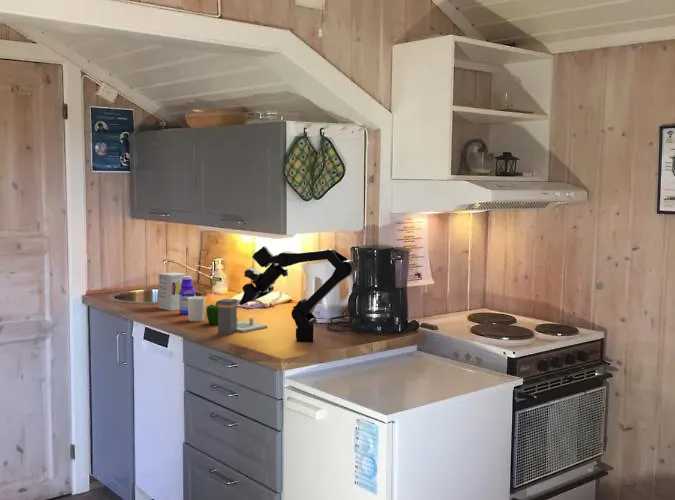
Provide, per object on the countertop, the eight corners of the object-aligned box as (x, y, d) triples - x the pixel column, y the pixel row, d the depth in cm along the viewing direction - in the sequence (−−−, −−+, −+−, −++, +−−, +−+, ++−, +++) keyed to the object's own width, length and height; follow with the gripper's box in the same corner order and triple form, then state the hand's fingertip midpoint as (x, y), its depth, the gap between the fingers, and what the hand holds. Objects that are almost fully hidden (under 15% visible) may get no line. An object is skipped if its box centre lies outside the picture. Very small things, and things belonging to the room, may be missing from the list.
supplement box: (170, 311, 347) (170, 275, 345) (158, 308, 353) (157, 273, 351) (186, 308, 354) (186, 273, 353) (174, 306, 360) (173, 271, 358)
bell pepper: (208, 326, 314) (208, 302, 313) (204, 322, 322) (204, 299, 321) (228, 324, 317) (228, 301, 316) (223, 321, 325) (223, 298, 324)
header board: (267, 327, 313) (267, 319, 312) (243, 332, 302) (243, 324, 301) (243, 323, 321) (243, 315, 321) (219, 327, 310) (219, 319, 310)
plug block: (236, 332, 303) (236, 299, 301) (230, 335, 297) (230, 301, 296) (224, 331, 304) (224, 298, 303) (217, 333, 299) (218, 300, 298)
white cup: (197, 322, 321) (197, 299, 320) (183, 320, 325) (183, 298, 324) (209, 319, 328) (209, 297, 327) (195, 317, 332) (195, 295, 331)
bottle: (180, 315, 336) (180, 277, 335) (178, 313, 341) (177, 275, 340) (196, 314, 339) (196, 276, 338) (193, 312, 344) (193, 275, 343)
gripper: (266, 259, 302) (242, 284, 307) (246, 263, 285) (221, 291, 289) (284, 278, 301) (259, 304, 305) (265, 284, 283) (240, 312, 287)
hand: (245, 302), depth 297 cm, fingers open, 9 cm apart
